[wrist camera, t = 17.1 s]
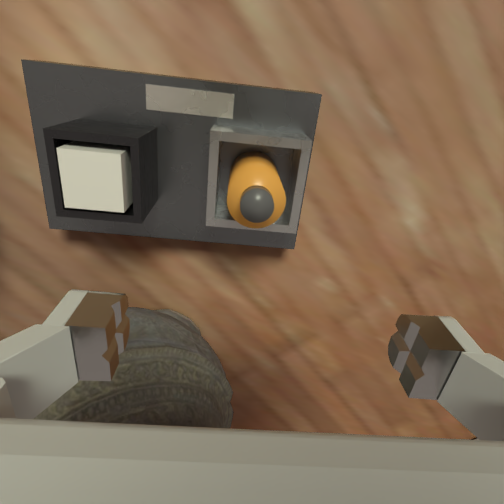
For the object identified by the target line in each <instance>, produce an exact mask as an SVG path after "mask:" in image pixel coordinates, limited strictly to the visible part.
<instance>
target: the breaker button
mask: <svg viewBox="0 0 504 504" xmlns="http://www.w3.org/2000/svg"><path fill="white" fill-rule="evenodd" d="M56 149H57V156H58V163H59V170H60V177H61V184H62V191H63V198H64V205H65V208H77V209H88V210H99V211H110V212H121V213H124V212H125V211H126V210H127V209H128V208H129V207H130V205H131V204H132V203H133V193H132V173H131V153H130V146H123V145H113V144H104V143H94V142H84V141H73V142H70V143H68V144H65V145H63V146H60V147H58V148H56Z"/></svg>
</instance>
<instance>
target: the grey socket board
mask: <svg viewBox="0 0 504 504" xmlns="http://www.w3.org/2000/svg"><path fill="white" fill-rule="evenodd" d="M21 61H22V67H23V73H24V79H25V85H26V91H27V97H28V103H29V109H30V115H31V120H32V126H33V132H34V138H35V144H36V150H37V156H38V162H39V168H40V174H41V180H42V186H43V192H44V198H45V204H46V210H47V216H48V222H49V228H51V229H63V230H75V231H86V232H98V233H110V234H122V235H133V236H145V237H157V238H169V239H180V240H192V241H204V242H216V243H227V244H239V245H251V246H263V247H275V248H286V249H294V247H295V242H296V236H297V230H298V225H299V219H300V214H301V208H302V202H303V197H304V191H305V186H306V180H307V174H308V169H309V163H310V158H311V152H312V146H313V141H314V135H315V130H316V124H317V118H318V113H319V107H320V102H321V96H322V94H318V93H313V92H305V91H296V90H288V89H279V88H271V87H262V86H253V85H245V84H236V83H228V82H219V81H211V80H202V79H193V78H185V77H176V76H168V75H159V74H151V73H142V72H133V71H125V70H116V69H108V68H99V67H91V66H82V65H73V64H65V63H56V62H48V61H35V60H21ZM73 141H84V142H94V143H104V144H113V145H123V146H130V153H131V173H132V193H133V203H132V204H131V205H130V207H129V208H128V209H127V210H126V211H125V212H124V213H121V212H110V211H99V210H88V209H77V208H65V205H64V198H63V191H62V184H61V177H60V170H59V163H58V156H57V149H56V148H58V147H60V146H63V145H65V144H68V143H70V142H73ZM249 151H257V152H261V153H264V154H266V155H267V156H268V157H270V158H271V160H272V161H273V162H274V164H275V167H276V169H277V172H278V175H279V177H280V180H281V183H282V186H283V188H284V191H285V195H286V205H285V208H284V211H283V213H282V215H281V216H280V217H279V219H278V220H277V221H275V222H274V223H273V224H271V225H269V226H267V227H263V228H248V227H245V226H243V225H241V224H239V223H238V222H237V221H236V220H235V219H234V218H233V217H232V216H231V214H230V212H229V210H228V206H227V193H228V184H229V174H230V168H231V166H232V163H233V162H234V160H235V159H236V158H237V157H238V156H240V155H241V154H243V153H245V152H249Z"/></svg>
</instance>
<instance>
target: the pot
mask: <svg viewBox="0 0 504 504" xmlns="http://www.w3.org/2000/svg"><path fill="white" fill-rule="evenodd" d="M125 315H126V316H127V317H128V318H129V321H130V330H129V337H128V342H127V345H126V348H125V350H124V352H122V353H121V354H119V364H118V367H117V369H116V371H115V374H114V376H113V378H112V380H111V381H82V380H78V383H77V384H76V385H74V386H73V387H72V388H71V389H69V390H68V391H67V392H66V393H64V394H63V395H62V396H61V397H60V398H58V399H57V400H56V401H55V402H53V403H52V404H51V405H50V406H48V407H47V408H46V409H45V410H44V411H42V412H41V413H40V414H39V415H37V416H36V417H35V418H34V419H37V420H58V421H80V422H101V423H123V424H144V425H166V426H187V427H209V428H230V427H231V422H232V417H233V409H232V406H231V404H230V401H231V397H232V394H233V391H232V389H231V386H230V384H229V382H228V381H227V379H226V376H225V372H224V370H223V367H222V365H221V362H220V360H219V358H218V357H217V355H216V354H215V352H214V351H213V349H212V348H211V346H210V345H209V344H208V343H207V342H206V341H205V340H204V339H203V337H202V336H201V333H200V330H199V328H198V327H197V326H196V325H195V324H194V323H193V322H192V320H191V319H189V318H188V317H186V316H184V315H182V314H180V313H178V312H175V311H172V310H170V309H163V310H149V309H144V308H137V307H128V308H127V311H126V313H125Z"/></svg>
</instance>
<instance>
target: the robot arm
mask: <svg viewBox="0 0 504 504" xmlns="http://www.w3.org/2000/svg"><path fill="white" fill-rule="evenodd" d="M127 308H128V297H127V295H126V294H120V293H109V292H98V291H87V290H70V291H68V293H67V294H66V295H65V296H64V298H63V299H62V300H61V301H60V302H59V304H58V305H57V306H56V307H55V309H54V310H53V311H52V312H51V314H50V315H49V316H48V317H47V319H46V320H45V321H44V322H43V324H42V325H39V324H36V325H33V326H31V327H29V328H27V329H25V330H23V331H21V332H19V333H16V334H14V335H12V336H10V337H8V338H6V339H4V340H1V341H0V504H504V361H502V360H500V359H498V358H497V357H495V356H493V355H491V354H487V353H484V352H483V351H482V350H481V348H480V347H479V346H478V345H477V344H476V343H475V341H474V340H473V339H472V338H471V337H470V336H469V335H468V333H467V332H466V331H465V330H464V329H463V328H462V326H461V325H460V324H459V323H458V322H457V321H456V320H455V319H454V318H452V317H450V316H422V315H406V314H401V315H400V316H399V318H398V319H397V322H396V327H397V329H398V331H397V332H396V333H395V334H394V335H392V336H391V339H390V342H389V345H388V355H389V359H390V362H391V364H392V366H393V368H395V369H396V370H397V371H398V372H400V373H401V375H400V378H399V380H400V382H401V384H402V386H403V388H404V390H405V391H406V393H407V395H408V397H409V398H419V399H431V400H438V401H437V402H439V403H440V404H441V405H442V406H443V407H444V408H445V409H446V410H447V411H448V412H450V413H451V414H452V415H453V416H454V417H455V418H456V419H457V420H458V421H459V422H461V423H462V424H463V425H464V426H465V427H466V428H467V429H468V430H469V431H470V432H472V433H473V434H474V435H475V436H476V437H477V438H478V439H479V440H465V439H442V438H422V437H401V436H381V435H361V434H340V433H318V432H296V431H274V430H252V429H231V428H209V427H187V426H166V425H144V424H123V423H101V422H80V421H58V420H37V419H34V418H35V417H36V416H37V415H39V414H40V413H41V412H42V411H44V410H45V409H46V408H47V407H48V406H50V405H51V404H52V403H53V402H55V401H56V400H57V399H58V398H60V397H61V396H62V395H63V394H64V393H66V392H67V391H68V390H69V389H71V388H72V387H73V386H74V385H76V384H77V383H78V380H82V381H111V380H112V378H113V376H114V374H115V371H116V369H117V367H118V364H119V354H121V353H122V352H124V350H125V348H126V345H127V342H128V337H129V330H130V321H129V318H128V317H127V316H126V315H125V313H126V311H127Z"/></svg>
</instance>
